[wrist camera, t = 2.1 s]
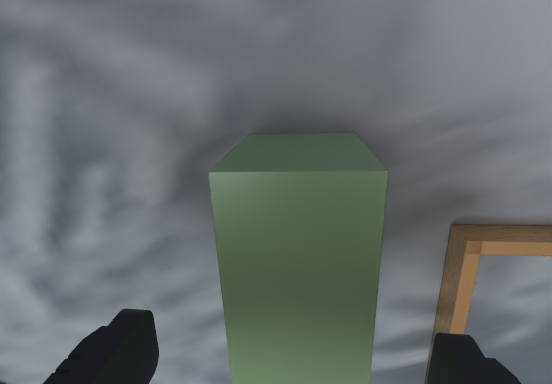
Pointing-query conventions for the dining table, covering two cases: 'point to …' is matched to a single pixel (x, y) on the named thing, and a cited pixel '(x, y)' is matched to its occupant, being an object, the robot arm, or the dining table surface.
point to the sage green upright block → (299, 256)
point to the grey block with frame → (465, 260)
